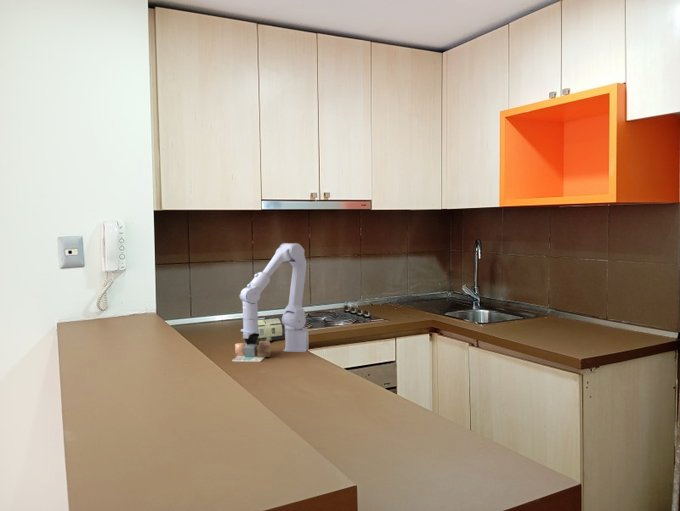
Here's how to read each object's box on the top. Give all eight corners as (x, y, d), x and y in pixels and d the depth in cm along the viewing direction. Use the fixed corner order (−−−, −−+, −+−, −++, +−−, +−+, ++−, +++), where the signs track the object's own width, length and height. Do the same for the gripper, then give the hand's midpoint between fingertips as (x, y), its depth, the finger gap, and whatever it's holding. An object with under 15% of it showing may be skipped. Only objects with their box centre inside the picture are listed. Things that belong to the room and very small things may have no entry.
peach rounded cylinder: (271, 351, 218) (271, 340, 218) (268, 354, 214) (268, 343, 214) (260, 351, 219) (260, 340, 219) (257, 354, 215) (257, 343, 214)
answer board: (269, 353, 218) (269, 351, 218) (260, 361, 204) (260, 360, 204) (243, 353, 220) (242, 351, 220) (232, 361, 206) (232, 359, 206)
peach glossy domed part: (247, 354, 215) (247, 342, 215) (244, 356, 211) (244, 345, 211) (237, 353, 216) (236, 342, 216) (233, 356, 212) (233, 345, 211)
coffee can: (246, 337, 242) (275, 334, 248) (253, 348, 233) (283, 345, 240) (247, 316, 239) (277, 313, 245) (254, 327, 230) (285, 324, 236)
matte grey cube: (257, 352, 213) (256, 343, 212) (254, 357, 210) (253, 348, 208) (247, 352, 214) (246, 343, 213) (244, 357, 210) (243, 347, 209)
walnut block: (268, 354, 213) (268, 344, 213) (270, 356, 210) (270, 346, 210) (256, 356, 211) (256, 346, 211) (258, 357, 209) (258, 347, 208)
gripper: (246, 315, 219) (247, 348, 220) (234, 322, 204) (236, 357, 205) (263, 315, 218) (264, 348, 219) (252, 322, 204) (254, 357, 205)
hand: (251, 352), depth 212 cm, fingers closed, pressing on matte grey cube
